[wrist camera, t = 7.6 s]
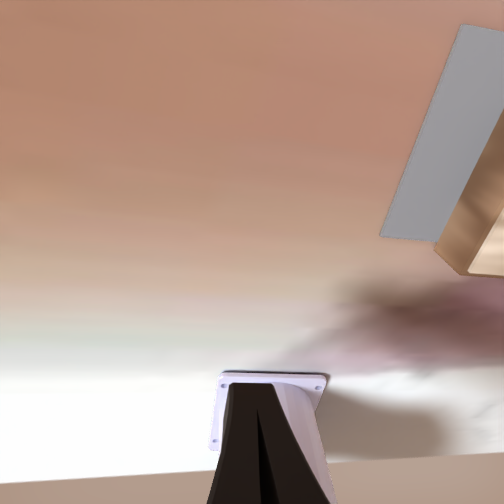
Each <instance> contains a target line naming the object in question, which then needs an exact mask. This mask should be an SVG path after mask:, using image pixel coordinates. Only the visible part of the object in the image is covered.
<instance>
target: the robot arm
mask: <svg viewBox="0 0 504 504" xmlns="http://www.w3.org/2000/svg"><path fill="white" fill-rule="evenodd" d="M326 383H327V381H326V378H325V376H323V375H304V374H266V373H227V372H225V373H221V374H220V375H219V376H218V380H217V387H216V394H215V401H214V408H213V416H212V423H211V430H210V437H209V449H210V450H213V451H219V461H218V465H217V468H216V472H215V476H214V479H213V483H212V487H211V490H210V494H209V497H208V500H207V504H337V500H336V496H335V493H334V488H333V484H332V481H331V477H330V473H329V469H328V466H327V461H326V457H325V453H324V449H323V446H322V442H321V438H320V434H319V430H318V426H317V422H316V418H315V414H314V413H315V411H316V408H317V406H318V403H319V401H320V398H321V396H322V393H323V391H324V388H325V386H326Z"/></svg>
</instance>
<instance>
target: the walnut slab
mask: <svg viewBox="0 0 504 504" xmlns="http://www.w3.org/2000/svg"><path fill="white" fill-rule="evenodd" d="M434 251H435V252H436V253H437V254H438V255H439V256H440V257H441V258H442V259H443V260H444V261H445V262H446V263H447V264H449V265H450V266H451V267H452V268H453V269H454V270H455V271H456V272H457V273H458V274H459V275H464V276H478V277H491V278H504V109H503V111H502V113H501V115H500V117H499V119H498V121H497V123H496V125H495V127H494V129H493V131H492V133H491V135H490V137H489V139H488V141H487V143H486V145H485V147H484V149H483V151H482V153H481V155H480V157H479V159H478V161H477V163H476V165H475V167H474V169H473V171H472V173H471V175H470V177H469V179H468V181H467V184H466V186H465V188H464V190H463V192H462V194H461V196H460V198H459V200H458V202H457V204H456V206H455V208H454V210H453V212H452V214H451V216H450V218H449V220H448V222H447V224H446V226H445V228H444V230H443V232H442V234H441V236H440V238H439V240H438V242H437V244H436V246H435V248H434Z"/></svg>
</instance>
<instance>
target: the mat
mask: <svg viewBox="0 0 504 504" xmlns="http://www.w3.org/2000/svg"><path fill="white" fill-rule="evenodd" d="M503 109H504V32H502V31H497V30H492V29H487V28H482V27H477V26H472V25H467V24H461V26H460V29H459V31H458V34H457V37H456V39H455V42H454V44H453V47H452V49H451V52H450V55H449V57H448V60H447V62H446V65H445V68H444V70H443V73H442V75H441V78H440V80H439V83H438V86H437V88H436V91H435V93H434V96H433V98H432V101H431V104H430V106H429V109H428V111H427V114H426V117H425V119H424V122H423V124H422V127H421V129H420V132H419V135H418V137H417V140H416V142H415V145H414V147H413V150H412V153H411V155H410V158H409V160H408V163H407V166H406V168H405V171H404V173H403V176H402V178H401V181H400V184H399V186H398V189H397V191H396V194H395V196H394V199H393V202H392V204H391V207H390V209H389V212H388V214H387V217H386V220H385V222H384V225H383V227H382V230H381V233H380V237H386V238H397V239H408V240H419V241H430V242H438V240H439V238H440V236H441V234H442V232H443V230H444V228H445V226H446V224H447V222H448V220H449V218H450V216H451V214H452V212H453V210H454V208H455V206H456V204H457V202H458V200H459V198H460V196H461V194H462V192H463V190H464V188H465V186H466V184H467V181H468V179H469V177H470V175H471V173H472V171H473V169H474V167H475V165H476V163H477V161H478V159H479V157H480V155H481V153H482V151H483V149H484V147H485V145H486V143H487V141H488V139H489V137H490V135H491V133H492V131H493V129H494V127H495V125H496V123H497V121H498V119H499V117H500V115H501V113H502V111H503Z"/></svg>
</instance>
